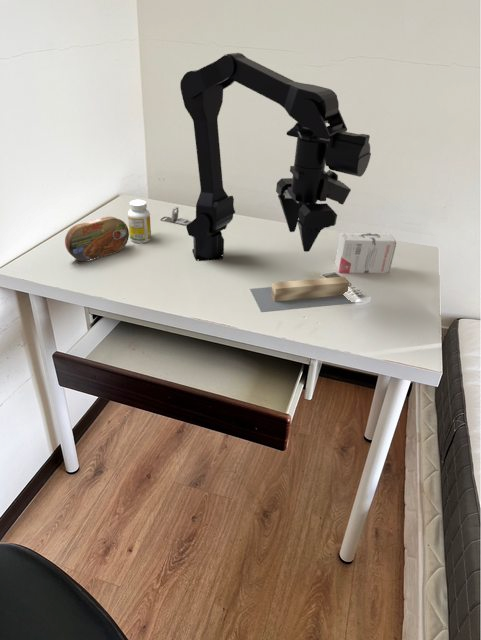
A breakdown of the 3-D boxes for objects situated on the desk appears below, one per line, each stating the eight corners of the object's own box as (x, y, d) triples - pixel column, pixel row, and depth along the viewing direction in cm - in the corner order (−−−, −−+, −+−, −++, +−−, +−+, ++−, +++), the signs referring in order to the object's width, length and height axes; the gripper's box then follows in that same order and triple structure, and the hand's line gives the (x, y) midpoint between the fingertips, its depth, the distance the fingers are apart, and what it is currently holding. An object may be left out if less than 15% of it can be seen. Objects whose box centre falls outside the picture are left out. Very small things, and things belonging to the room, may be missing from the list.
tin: (72, 265, 105) (66, 231, 100) (66, 260, 107) (60, 226, 102) (131, 248, 114) (128, 215, 109) (124, 243, 115) (121, 211, 111)
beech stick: (274, 301, 95) (275, 288, 93) (271, 295, 97) (272, 282, 95) (346, 294, 98) (349, 282, 97) (341, 288, 100) (344, 276, 99)
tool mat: (260, 314, 92) (261, 312, 92) (249, 291, 99) (249, 288, 99) (362, 304, 97) (363, 301, 96) (344, 282, 104) (345, 280, 103)
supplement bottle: (137, 245, 115) (134, 208, 109) (125, 238, 118) (122, 201, 113) (155, 239, 118) (153, 203, 113) (143, 232, 121) (141, 197, 116)
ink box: (333, 264, 111) (382, 265, 111) (338, 274, 107) (389, 276, 107) (339, 230, 106) (391, 232, 107) (344, 240, 102) (398, 241, 102)
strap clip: (191, 223, 128) (191, 208, 126) (186, 227, 126) (186, 212, 123) (164, 218, 131) (164, 203, 128) (159, 221, 128) (158, 206, 126)
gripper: (371, 180, 81) (354, 260, 90) (331, 149, 95) (319, 221, 104) (311, 181, 78) (299, 263, 87) (279, 150, 93) (272, 223, 102)
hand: (299, 241), depth 95 cm, fingers open, 9 cm apart
